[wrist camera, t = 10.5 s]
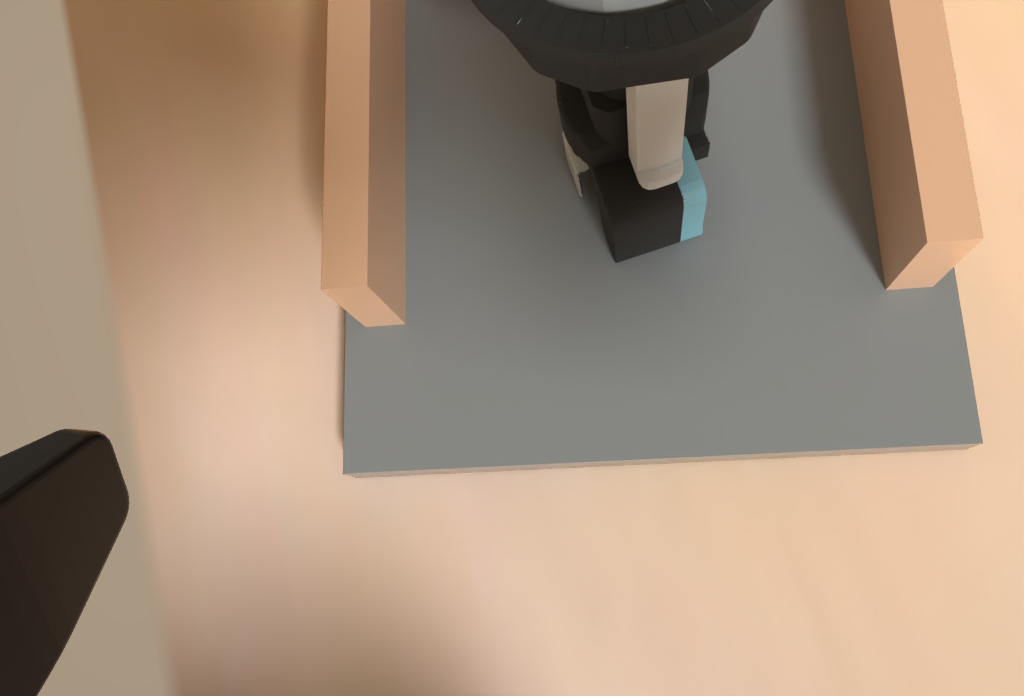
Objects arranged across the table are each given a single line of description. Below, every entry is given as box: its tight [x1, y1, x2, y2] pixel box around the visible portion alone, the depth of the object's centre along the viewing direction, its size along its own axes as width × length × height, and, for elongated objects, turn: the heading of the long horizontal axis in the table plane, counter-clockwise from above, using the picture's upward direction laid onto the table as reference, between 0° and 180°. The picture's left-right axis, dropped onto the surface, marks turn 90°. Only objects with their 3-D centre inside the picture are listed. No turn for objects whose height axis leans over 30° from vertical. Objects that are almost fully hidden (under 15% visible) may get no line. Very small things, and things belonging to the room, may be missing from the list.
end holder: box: [321, 0, 983, 478], centre depth 20 cm, size 16×14×4 cm
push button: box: [471, 0, 773, 263], centre depth 16 cm, size 7×5×10 cm
